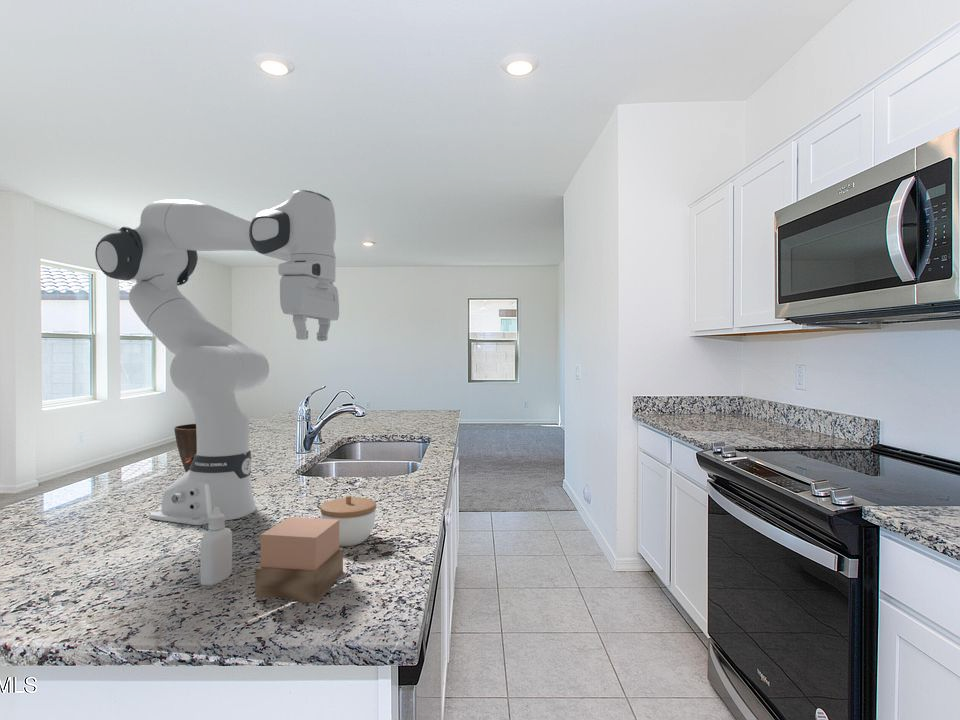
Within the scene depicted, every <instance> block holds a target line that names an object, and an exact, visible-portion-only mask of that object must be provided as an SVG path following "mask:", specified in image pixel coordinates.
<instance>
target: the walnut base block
mask: <svg viewBox="0 0 960 720" xmlns="http://www.w3.org/2000/svg"><path fill="white" fill-rule="evenodd" d="M343 572H344V548H340V547H339V550H338V551H337V552H335V553H334V554H333V555H332V556H331V557H330V558H329V559H328V560H327V561H326V562H325V563H323V564H322V565H321V566H320V567H319V568H318V569H317V570H301V569H285V568H270V567H260V564H259V565H258V566H257V567H255V568H254V597H255V598H270V599H271V598H272V599H287V600H288V599H289V600H293V602H297V603H307V604H308V603H309V604H310V603H311V604H318V603H319V602H320V601H321V600H322V598H324V596H325V595H326V594H327V593H328V592H329V591H330V589H332V587H333V586H335V584H336V583H337V581H336V580H337V579H338V578H339V577H340V576H341V574H343Z"/></svg>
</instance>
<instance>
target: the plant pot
mask: <svg viewBox="0 0 960 720" xmlns="http://www.w3.org/2000/svg"><path fill="white" fill-rule="evenodd" d="M173 430H174V437H175V441H176V446H177V451H178V453H179V457H180V461H181V463H182V467H183V469H184V471H185V473H186V472H188V471H189V470H190V469H189V468H190V466H191V463H192V462H190V463H185V462H187V461H189V459H187V460H185V459H186V458H190V457H192V456H193V455H195V454H197V435H196V423H189V424H188V423H187V424H182V425H181V424H180V425H176V426H174V427H173Z"/></svg>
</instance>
